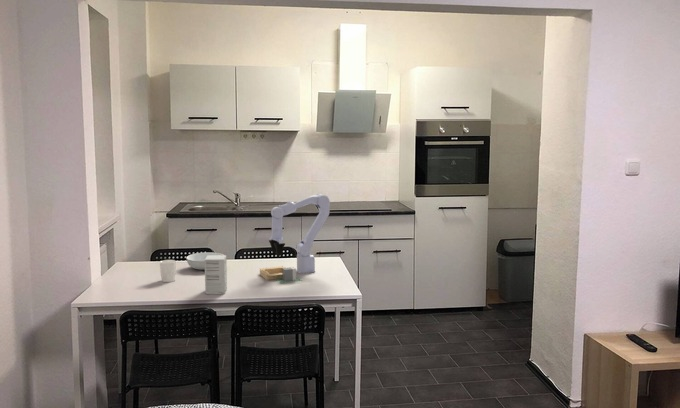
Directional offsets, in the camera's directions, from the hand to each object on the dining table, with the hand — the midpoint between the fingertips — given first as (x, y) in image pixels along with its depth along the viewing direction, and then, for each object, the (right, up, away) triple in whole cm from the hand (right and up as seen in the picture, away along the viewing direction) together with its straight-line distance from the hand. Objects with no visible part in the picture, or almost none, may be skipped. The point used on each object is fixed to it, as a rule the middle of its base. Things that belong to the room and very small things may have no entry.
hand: (276, 254), depth 302 cm
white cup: (-54, -12, -14) cm, 57 cm away
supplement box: (-25, -15, -34) cm, 44 cm away
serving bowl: (-41, -9, +13) cm, 44 cm away
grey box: (+8, -12, -14) cm, 20 cm away
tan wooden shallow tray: (0, -11, -5) cm, 12 cm away
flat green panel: (+8, -12, -14) cm, 20 cm away
